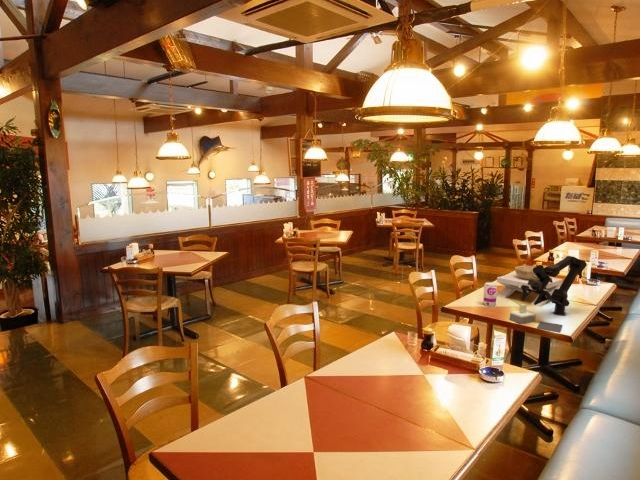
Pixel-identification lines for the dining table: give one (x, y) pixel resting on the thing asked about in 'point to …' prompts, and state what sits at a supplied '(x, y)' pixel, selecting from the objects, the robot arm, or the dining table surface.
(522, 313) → the lid
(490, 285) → the supplement can
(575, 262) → the robot arm
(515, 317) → the storage box
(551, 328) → the rubber mat
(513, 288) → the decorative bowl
